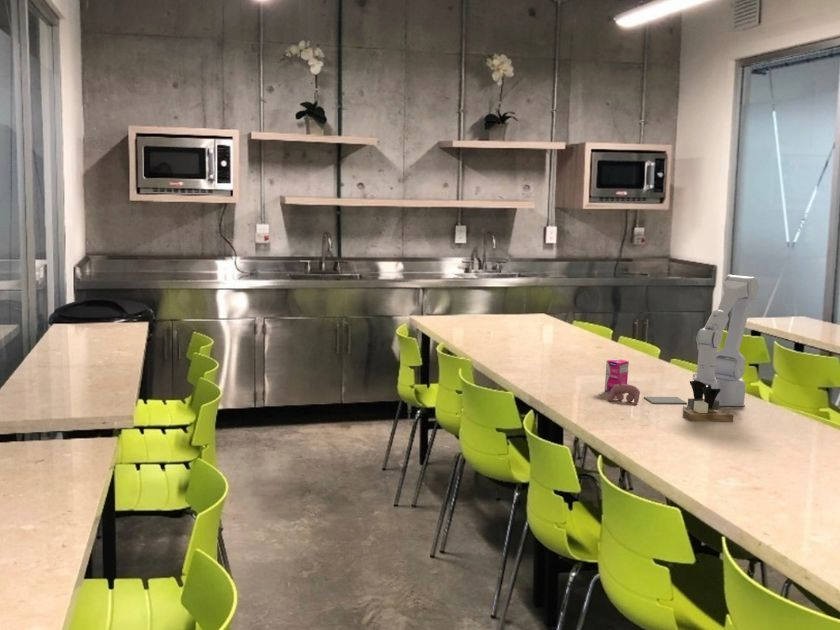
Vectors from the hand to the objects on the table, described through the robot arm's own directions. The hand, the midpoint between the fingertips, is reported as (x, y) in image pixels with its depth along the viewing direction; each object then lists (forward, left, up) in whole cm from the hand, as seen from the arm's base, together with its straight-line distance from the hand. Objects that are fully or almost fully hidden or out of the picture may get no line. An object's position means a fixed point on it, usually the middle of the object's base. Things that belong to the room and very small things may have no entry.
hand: (703, 405), depth 278 cm
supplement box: (+21, -25, -2) cm, 33 cm away
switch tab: (+6, +10, 0) cm, 11 cm away
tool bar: (0, 0, -2) cm, 2 cm away
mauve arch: (+23, -11, -2) cm, 25 cm away
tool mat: (+8, -12, -2) cm, 14 cm away
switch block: (+3, +10, -2) cm, 11 cm away
